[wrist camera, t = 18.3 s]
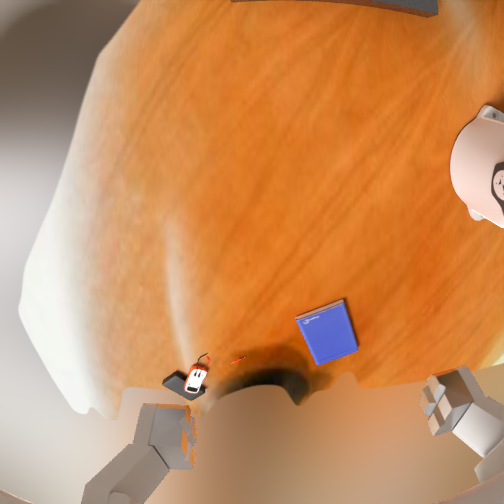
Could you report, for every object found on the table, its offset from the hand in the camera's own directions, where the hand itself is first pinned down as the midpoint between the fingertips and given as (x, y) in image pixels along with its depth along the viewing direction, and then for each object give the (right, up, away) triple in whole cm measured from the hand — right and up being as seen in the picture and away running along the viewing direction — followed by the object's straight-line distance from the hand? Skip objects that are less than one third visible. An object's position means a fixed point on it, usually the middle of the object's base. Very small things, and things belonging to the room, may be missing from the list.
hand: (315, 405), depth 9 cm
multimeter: (-12, -16, +48) cm, 52 cm away
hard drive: (+11, -9, +45) cm, 47 cm away
